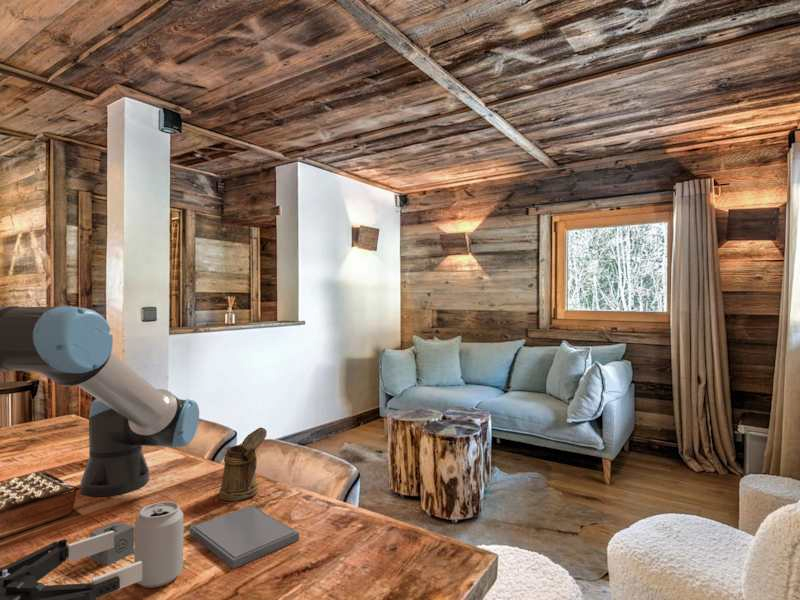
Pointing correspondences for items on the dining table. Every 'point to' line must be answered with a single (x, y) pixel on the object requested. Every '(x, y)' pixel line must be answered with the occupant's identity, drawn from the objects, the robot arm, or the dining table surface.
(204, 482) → the dining table surface
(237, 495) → the wooden mug
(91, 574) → the dining table surface
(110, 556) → the dice cube
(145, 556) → the can
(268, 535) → the slate board
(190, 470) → the dining table surface
